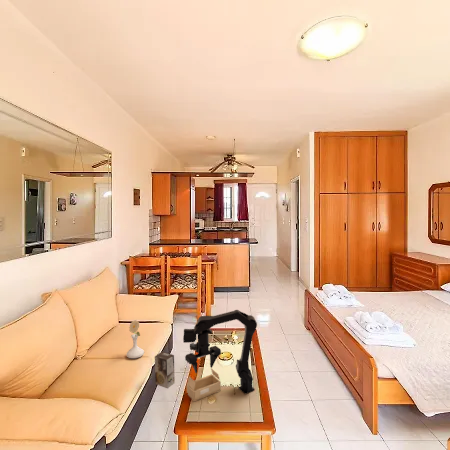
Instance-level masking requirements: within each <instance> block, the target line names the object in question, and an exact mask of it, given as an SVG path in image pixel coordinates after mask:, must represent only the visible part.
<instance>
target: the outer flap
mask: <svg viewBox="0 0 450 450" xmlns="http://www.w3.org/2000/svg"><path fill="white" fill-rule="evenodd" d="M187 383H188V385H189V386H190V387H191V388H192V389H193V390H194V388H195V383H196V382H195V380H194V379H193V378H191V376H189V375H188V378H187Z"/></svg>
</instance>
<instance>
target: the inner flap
mask: <svg viewBox="0 0 450 450" xmlns="http://www.w3.org/2000/svg"><path fill="white" fill-rule="evenodd" d="M210 370H211V373H212V375H214V376H215V377H216V378H217V379H218V380H219V381H221V379H220V376H219V373H218V372H217V371H215V370H214V369H213V367H212V368H211V367H210Z"/></svg>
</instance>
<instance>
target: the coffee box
mask: <svg viewBox="0 0 450 450" xmlns="http://www.w3.org/2000/svg"><path fill="white" fill-rule="evenodd" d="M154 373H155V374H154V375H155V377H154V378H155V385H157V386H160V387H161V388H165V389H169V388H170V387H171V386H173V385H174V384H175V383H176V382H175V379H176V378H175V355H174V354H172V353H168V352H165V351H161V352H159V353H158V354H156V355H155V356H154Z"/></svg>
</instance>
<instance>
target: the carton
mask: <svg viewBox="0 0 450 450" xmlns="http://www.w3.org/2000/svg"><path fill="white" fill-rule="evenodd" d="M194 381H195V382H196V383H195V388H194V390H193V389H192V388H191V387H190V386H189V385H188V382H187V383H186V394H187V393H188V394H187V396H188V397H189V398H190V399H191V400H192V402H197V401H199V400H201V399H204V398H206V397H208V396H210V395H213V394H215V393H219V392H220V391H221V390H222V389H221V387H222V385H221V380H219V379H218V378H216V377H215V376H214V375H213V374H209V375H206V376H203V377H200V378H198V379H195V380H194Z"/></svg>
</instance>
